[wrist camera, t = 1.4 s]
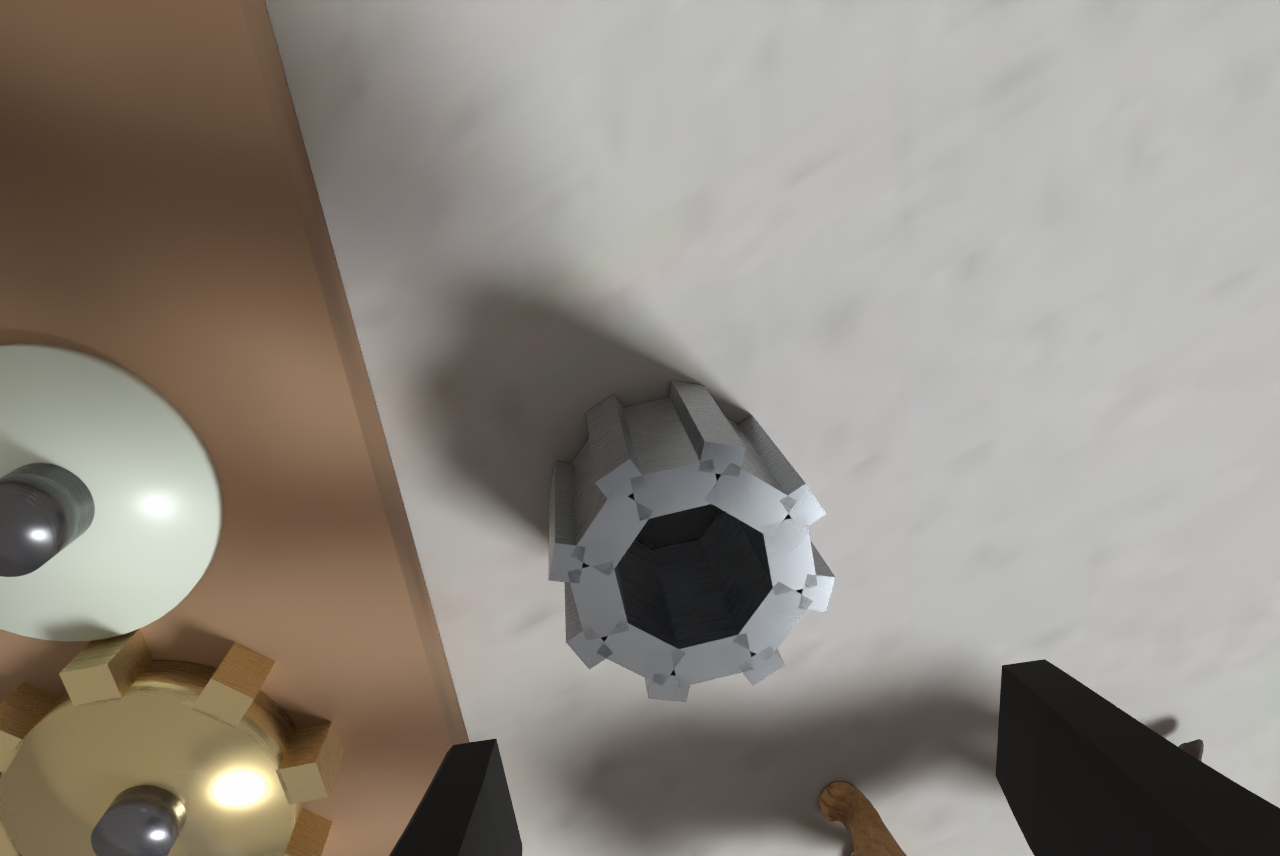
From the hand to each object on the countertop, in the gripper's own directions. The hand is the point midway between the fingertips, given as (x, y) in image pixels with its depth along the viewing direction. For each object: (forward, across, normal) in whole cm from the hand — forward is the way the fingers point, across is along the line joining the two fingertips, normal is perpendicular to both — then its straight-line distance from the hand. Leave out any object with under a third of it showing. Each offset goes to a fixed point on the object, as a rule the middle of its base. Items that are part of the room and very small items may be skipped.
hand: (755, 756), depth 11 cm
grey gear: (+9, 0, 0) cm, 9 cm away
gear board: (+9, +13, -1) cm, 16 cm away
